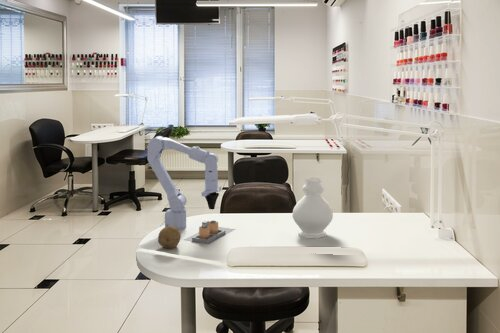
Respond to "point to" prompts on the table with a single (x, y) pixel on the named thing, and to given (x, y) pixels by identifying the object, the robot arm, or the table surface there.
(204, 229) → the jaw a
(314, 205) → the decorative vase
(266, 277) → the table surface
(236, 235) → the table surface
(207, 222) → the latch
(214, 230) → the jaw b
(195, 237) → the housing
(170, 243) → the natural sponge
